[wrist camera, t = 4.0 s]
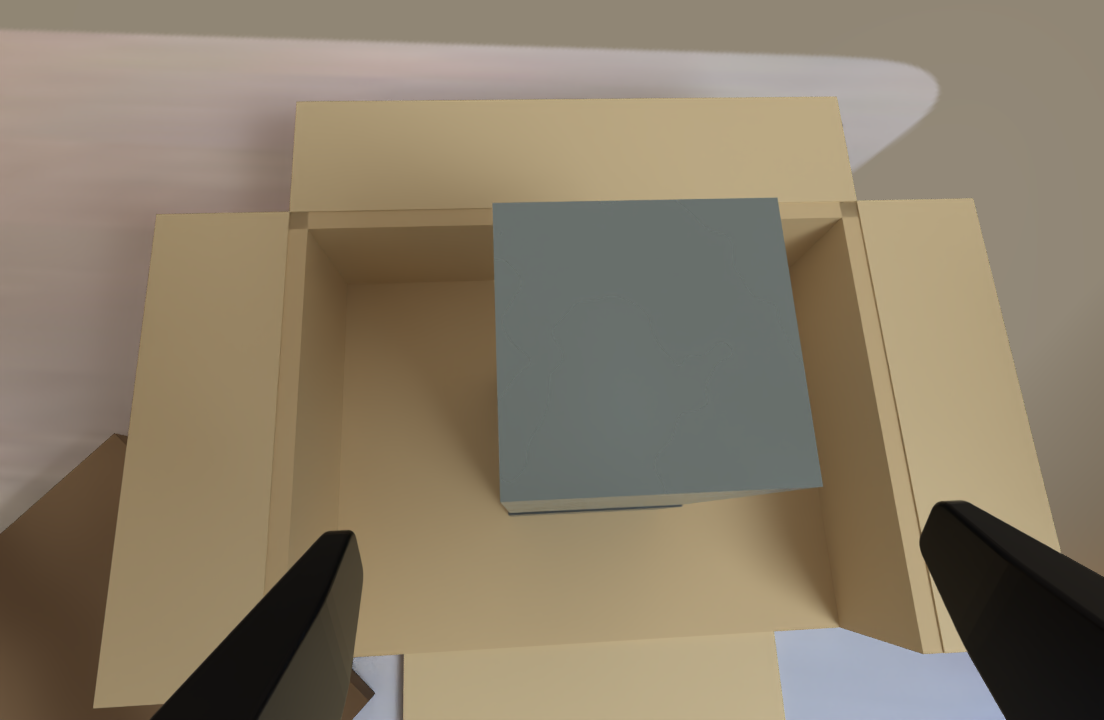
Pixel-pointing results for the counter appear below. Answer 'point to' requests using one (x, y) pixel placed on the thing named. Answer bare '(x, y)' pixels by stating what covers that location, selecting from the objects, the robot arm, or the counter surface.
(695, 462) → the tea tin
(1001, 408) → the carton
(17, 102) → the counter surface
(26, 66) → the counter surface
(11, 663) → the board
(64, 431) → the counter surface
